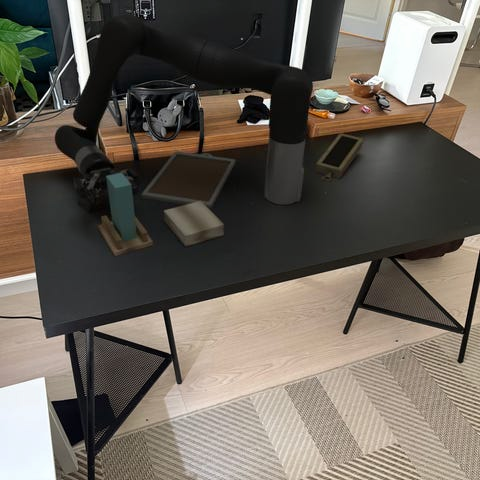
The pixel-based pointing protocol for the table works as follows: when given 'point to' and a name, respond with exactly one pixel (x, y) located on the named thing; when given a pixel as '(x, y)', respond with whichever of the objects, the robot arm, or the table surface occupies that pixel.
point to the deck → (193, 223)
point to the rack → (116, 241)
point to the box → (338, 156)
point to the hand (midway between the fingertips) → (117, 196)
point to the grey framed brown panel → (190, 179)
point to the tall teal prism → (122, 206)
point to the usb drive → (90, 206)
